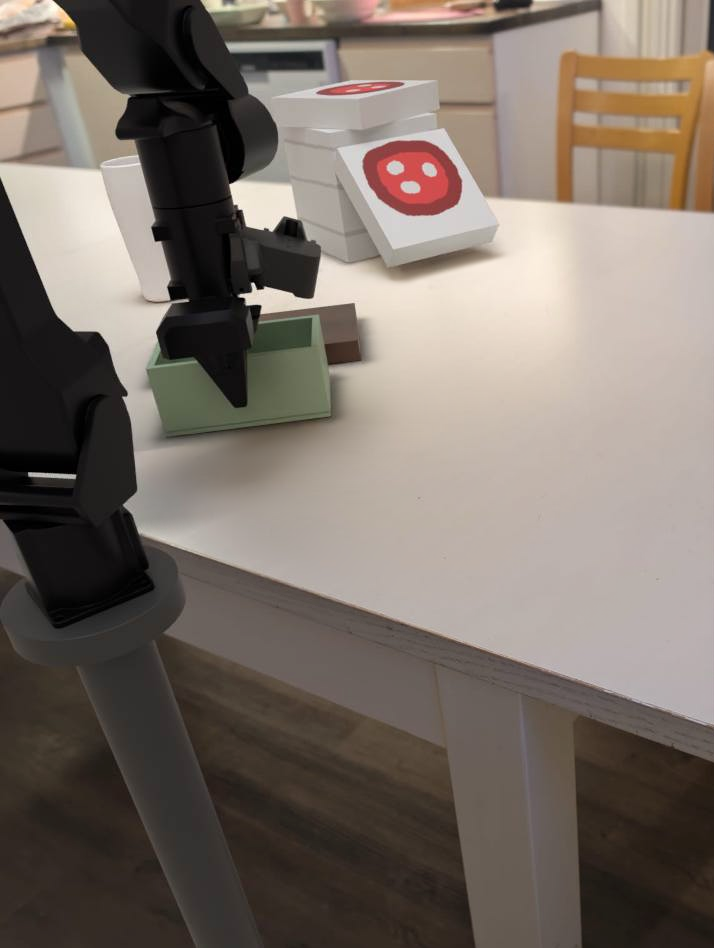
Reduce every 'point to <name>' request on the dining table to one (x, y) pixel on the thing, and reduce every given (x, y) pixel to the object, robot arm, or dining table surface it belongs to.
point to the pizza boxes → (379, 172)
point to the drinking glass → (137, 224)
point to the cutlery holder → (269, 382)
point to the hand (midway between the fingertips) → (241, 406)
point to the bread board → (331, 329)
